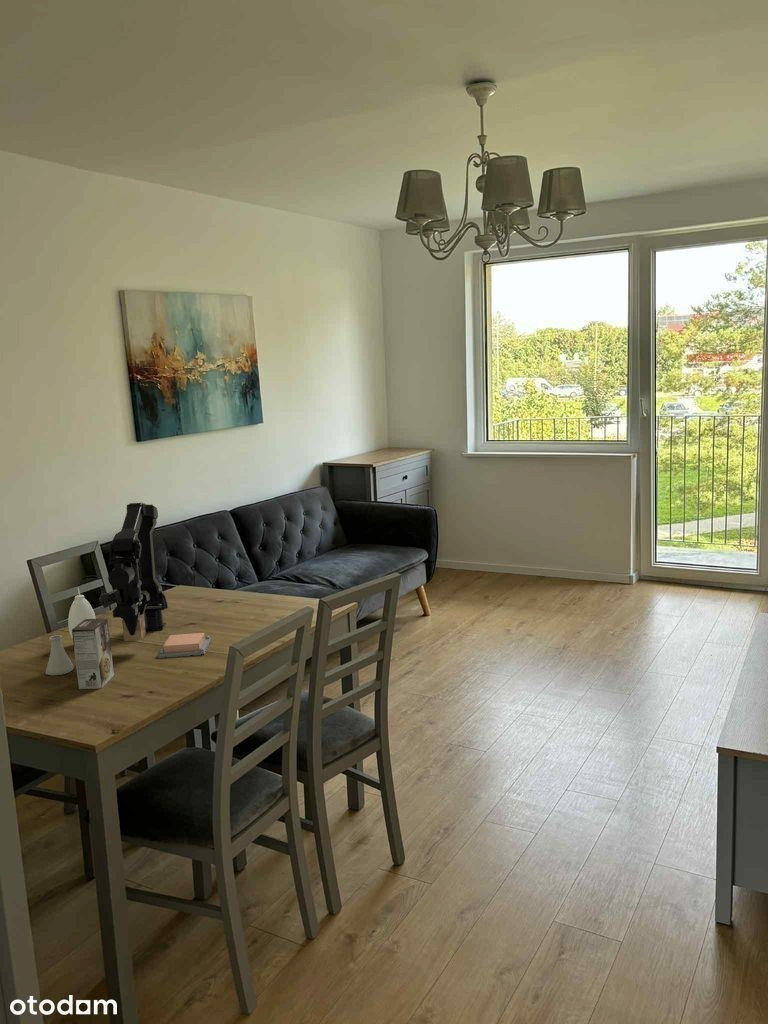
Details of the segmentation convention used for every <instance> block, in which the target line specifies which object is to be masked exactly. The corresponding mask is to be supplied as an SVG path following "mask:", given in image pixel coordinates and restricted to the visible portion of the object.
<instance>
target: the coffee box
mask: <svg viewBox="0 0 768 1024" xmlns="http://www.w3.org/2000/svg"><path fill="white" fill-rule="evenodd" d="M108 623H109V622H108V618H96V619H85V620H83V621H82V622H81V623H80V624H78V625H77V626H76V627H75V628H73V629H72V635H73V639H72V641H73V642H72V644H73V651H74V658H75V659H74V660H75V667H76V675H77V684H78V689H79V690H87V689H89V690H92V689H103V688H104V687H105V686H106V685H107V684H108V682H110V681H111V679H113V677H114V676H115V671H114V663H113V655H112V647H111V645H112V644H111V638H110V629H109V624H108Z"/></svg>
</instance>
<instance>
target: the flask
mask: <svg viewBox="0 0 768 1024" xmlns="http://www.w3.org/2000/svg"><path fill="white" fill-rule="evenodd" d="M62 638H63V635H61V634H55V635H51V636H50V637H49V638H48V639H49V641H50V653H49V658H48V662H47V666H46V670H45V675H47V676H48V675H49V676H60V675H65V674H68V673H70V672H72V671H73V670H74V669H75V665H74V664H73V662H72V661H71V659H70V657H69V655H68V653H67V651H66V650H65V648H64V645H63V641H62V640H63V639H62Z"/></svg>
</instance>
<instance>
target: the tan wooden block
mask: <svg viewBox="0 0 768 1024" xmlns="http://www.w3.org/2000/svg"><path fill="white" fill-rule="evenodd" d="M121 621H122V622H121V623H122V632H123V641H124V642H129V641H141V640H142V641H143V639H144V638H145V636H146V635H147V633H146V632H147V631H145V622H144V614H143V615H139V619H138V623H137V627H136V631H135V634H134V635H130V633H129V631H128V629H127V626H126V624H125V622H124V620H123V619H121Z"/></svg>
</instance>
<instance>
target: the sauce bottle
mask: <svg viewBox="0 0 768 1024" xmlns="http://www.w3.org/2000/svg"><path fill="white" fill-rule="evenodd" d="M85 619H97V617H96V614H95V611H94V609H93V607H92V605H91V604H90V602H89V601H88V600H87V599H86V598H85V595H83V594H81V593H80V588H79V587H77V595H75V596H74V600H73V602H72V603H71V606H70V608H69V613H68V620H67V622H68V623H67V624H68V625H67V627H68V632H69V635H70V637H71V639H72V640H73V635H72V629H73V628H75V627H76V626H77V625H78V624H80V623H81V622H82V621H83V620H85Z"/></svg>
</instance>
